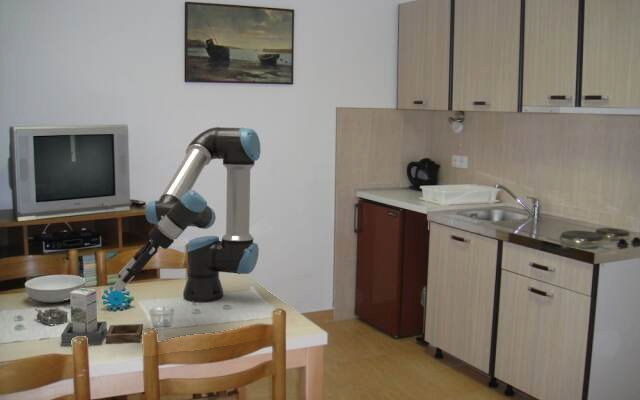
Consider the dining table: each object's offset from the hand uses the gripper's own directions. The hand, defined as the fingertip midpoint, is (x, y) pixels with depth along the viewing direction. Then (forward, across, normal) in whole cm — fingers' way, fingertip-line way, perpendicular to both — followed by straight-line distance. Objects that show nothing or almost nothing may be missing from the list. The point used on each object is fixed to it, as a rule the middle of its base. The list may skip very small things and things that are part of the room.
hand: (119, 282), depth 205 cm
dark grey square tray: (+20, +2, +4) cm, 20 cm away
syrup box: (+19, +2, +3) cm, 20 cm away
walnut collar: (+12, +2, +13) cm, 18 cm away
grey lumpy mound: (+30, -18, -5) cm, 35 cm away
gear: (+17, -30, +10) cm, 36 cm away
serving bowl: (+33, -44, -8) cm, 55 cm away
